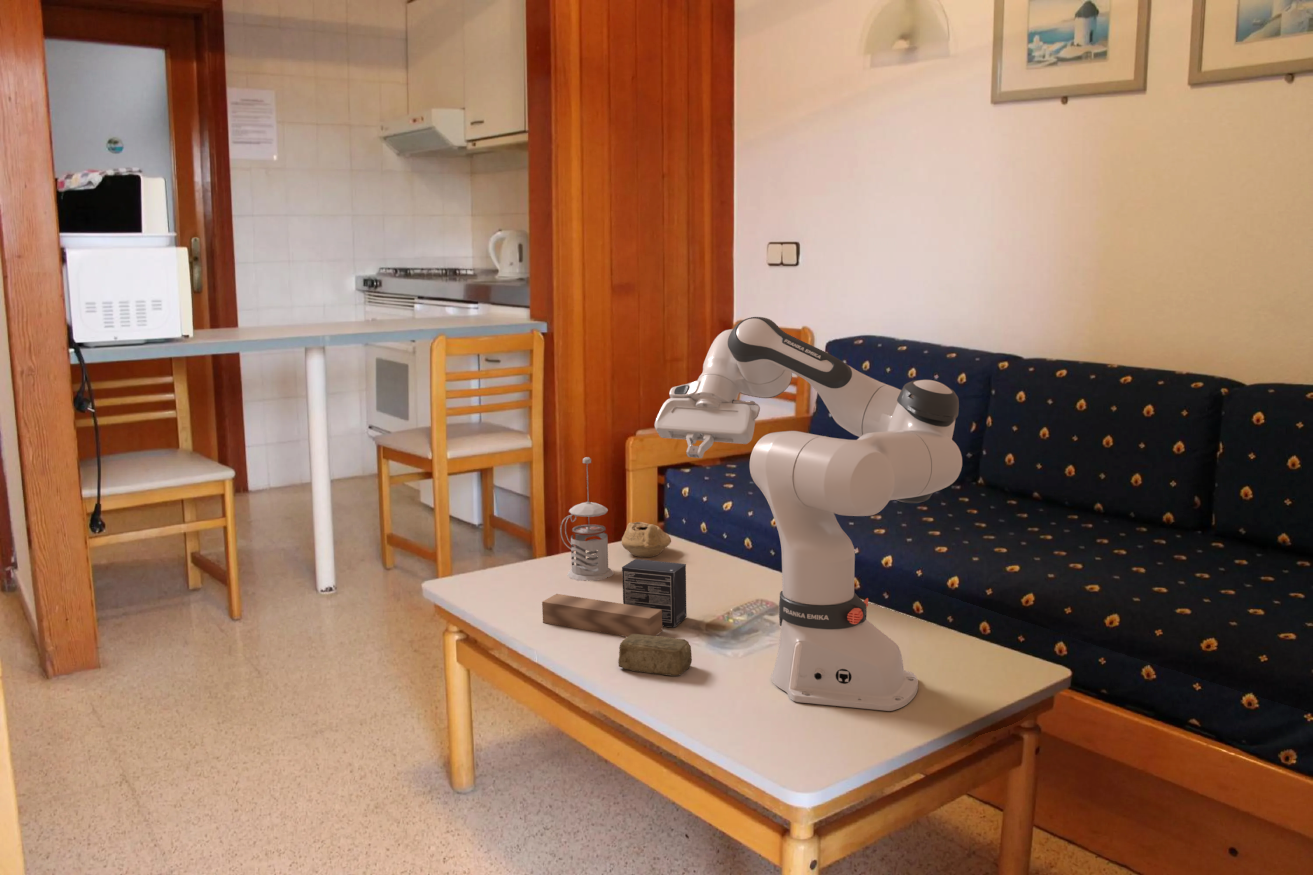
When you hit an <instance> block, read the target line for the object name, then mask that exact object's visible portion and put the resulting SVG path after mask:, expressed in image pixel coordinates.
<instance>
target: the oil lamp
mask: <svg viewBox="0 0 1313 875" xmlns="http://www.w3.org/2000/svg"><path fill="white" fill-rule="evenodd" d="M671 543H672V538H671V537H670V535H669V534H668V533H667V532H665V531H664V530H663V529H661V527H660V526H658V525H655V524H653V523H652V524H650V523H647V522H643V521H636V522H629V523H628V524H627V525H626V529H625V531H624V534H623V536H622V537H621V545H622V547H623V548H624V549H625V550H626V551H627V552H629V553H630V554H631V555H633V556H635V557H642V558H651V557H656V556H659V555H660V554H661V553H662V551H663V550H665V549H666V548H667V547H668V546H670V544H671Z"/></svg>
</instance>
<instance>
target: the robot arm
mask: <svg viewBox="0 0 1313 875" xmlns="http://www.w3.org/2000/svg"><path fill="white" fill-rule="evenodd" d="M793 374H794V375H795V376H798V377H800V378H802V379H803V380H805V381H806V383H807V382H808V384H810V386H811V387H813V389H814V390H815V391H816V393H817V394H818V396H819V397H820V398H821V400H822V401H823V404H824V405H825V406H826V409H827V410H828V412H829V414H830V415H831V417H832V418H833V420H834V422H835V423H836V424H837V425H838V426H840V427H841V428H843V429H844V430H846V431H847V432H849V433H850V434H852V435H853V436H856V437H858V438H857V439H846V438H837V437H831V436H830V437H829V436H824V435H819V434H813V433H809V432H804V431H798V430H786V431H775V432H770V433H767V434H764V435H763V436H761V438H759V440H758V441H757V442H756V444H755V445H754V447H753V448H752V451H751V454H750V459H749V472H750V476H751V479H752V481H753V482H754V484H755V485H756V486H757V487H758V488H759V490H760V491H761V492H762V494H763V496H764V497H765V499H766V501H767V503H768V505H769V506H768V507H769V508H770V510H771V513H772V516H773V519H774V522H775V526H776V529H777V531H778V532H777V533H778V536H779V541H780V547H781V548H780V549H781V572H782V573H781V575H782V576H781V577H782V579H781V580H782V587H781V588H782V590H781V591H780V592H779V599H778V600H779V601H778V618H779V620H778V621H779V626H780V636H779V644H778V650H777V655H776V659H775V664H774V667H773V670H772V673H771V681H772V682H773V684H774V685H775V686H776V687H778V688H779V689H780V690H782V691H784V692H786V693H787V694H788V697H789V698H790V700H792V701H793V702H796V703H805V704H814V705H822V706H823V705H825V706H833V707H836V706H837V707H845V708H855V709H865V710H875V711H885V712H886V711H887V712H890V711H891V712H892V711H895V710H898V709H901V708H903V707H905V706H907V705H908V704H909V703H910V702H912V701H913V700H914V698H915V696H916V695H917V692H918V690H919V680H918V677H917V675H916V674H915V673H914V672H912V671H909V670H905V669H904V663H903V656H902V652H901V649H900V647H899V646H898V645H899V644H897V643H896V642H895V641H894V640H893V639H891V638H890V637H889V636H888V635H886V634H885V633H884V632H882V631H881V630H880V629H879V628H878V627H877V626H876V625H874V624H873V623H871V622H870V621H869V620H868V619H867V614H868V613H867V612H868V611H867V608H868V606H869V598H868V597H867V598H865V599H864V600H862V599H861V598H860V596H858V595H857V594H856V593H855V566H856V565H855V561H856V555H855V554H856V552H855V547H854V545H853V541H852V540H851V539H850V537H849V536H848V535H847V533H846V532H845V531H844V530H843V529H842V527H841V525H840V524H839V522H838V520H837V517H836V515H839V516H847V517H848V516H849V517H853V516H854V517H865V516H866V517H869V516H873V515H876V514H878V513H879V512H881V511H882V510H884V509H885V507H886V506H887V505H888V503H889V502H890V501H893V500H894V501H895V500H896V501H899V502H902V503H907V504H920V503H922V502H925V501H928V500H929V499H930V498H931V496H932V495H933V494H934V493H935V492H939V491H941V490H943V489H945V488H948V487H950V486H951V485H953V484H954V483H955V482H956V481H957V479H958V478H959V476H960V474H961V472H962V467H963V456H962V452H961V450H960V447H959V446H958V445H957V443H956V442H955V441H954V440H953V437H954V436H953V435H954V431H955V424H956V419H957V418H958V416H959V408H960V403H959V402H960V401H959V397H958V395H957V394H956V392H955V391H954V389H952V388H951V387H948V386H947V385H946V384H944V383H942V382H939V381H936V380H932V379H918V380H917V379H915V380H914V379H913V380H912V381H911V380H910V381H909V382H907V383H905V384H904V385H903V387H902V388H901V389H899V388H898V387H895V386H893V385H890V384H886V383H885V382H881V381H879V380H877V379H875V378H873V377H871V376H868V375H866V374H865V373H863V372H860V371H858V370H856V369H855V368H853V367H852V366H851V365H848V363H846V362H844V361H842V360H840V359H839V358H838V357H835V355H832V354H830V353H828V352H826V351H824V350H822V349H821V348H819V347H816V346H813V345H812V344H809V343H807V342H805V341H803V340H801V339H799V338H797V337H794V336H793V335H790V334H789V333H787V332H785V331H784V330H782V329H781V328H780V327H779V326H778V325H777V324H776V323H775V321H774V320H772V319H770V318H767V317H762V316H752V317H747V318H745V319H743V320H741V321H740V322H738V323H737V324H736V325H734V327H733V328H731V329H725V330H723V331H722V332H721V333H719V334H717V336H716V337H715V338H714V340H713V341H712V343H711V345H710V347H709V349H708V351H707V354H706V356H705V359H704V361H703V364H702V373H701V374H700V375H699V376H698V378H697V380H695V381H692V382H688V383H685V384H681V385H677V386H672V387H671V388H670V390H669V392H668V393H669V398H668V399H666V400H665V401H664V402H663V403H662V406H661V407H660V409H659V412H658V413H657V415H656V417H655V421H654V429H655V431H656V432H657V434H658V436H659V438H663V439H671V440H672V439H673V440H674V439H675V440H686V443H687V448H686V451H685V452H686V456H687V457H688V458H697V459H703V458H704V455H705V452H706V451H708V450H709V449H710V448H711V447H712V446H713V445H714V442H715V443H728V444H740V445H742V444H743V445H747V444H749V443H750V442H751V441H752V440H753V437H754V432H755V426H756V420H757V419H758V417H759V414H760V411H761V407H760V405H759V404H758V403H756V402H755V401H753V400H741V399H738V398H739V395H740V394H742V395H744V396H749V397H753V398H759V399H760V398H761V399H772V398H775V397H778V396H779V395H781V394H782V393H784V392H785V391H786V390H787V389H788V387H789V386H790V384H791V382H792V379H793ZM697 441H699V442H700V441H701V443H700V444H699V445H695V444H696V443H697Z"/></svg>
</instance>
